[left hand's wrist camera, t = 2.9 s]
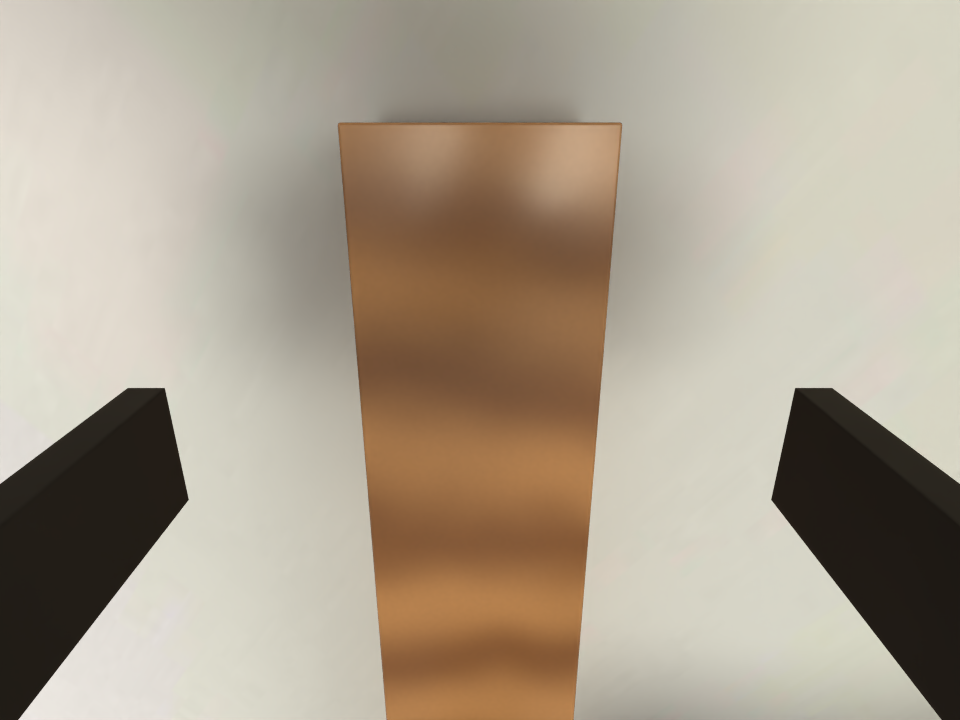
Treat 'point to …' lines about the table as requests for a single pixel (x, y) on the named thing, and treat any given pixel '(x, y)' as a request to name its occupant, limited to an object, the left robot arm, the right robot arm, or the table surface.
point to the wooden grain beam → (479, 400)
